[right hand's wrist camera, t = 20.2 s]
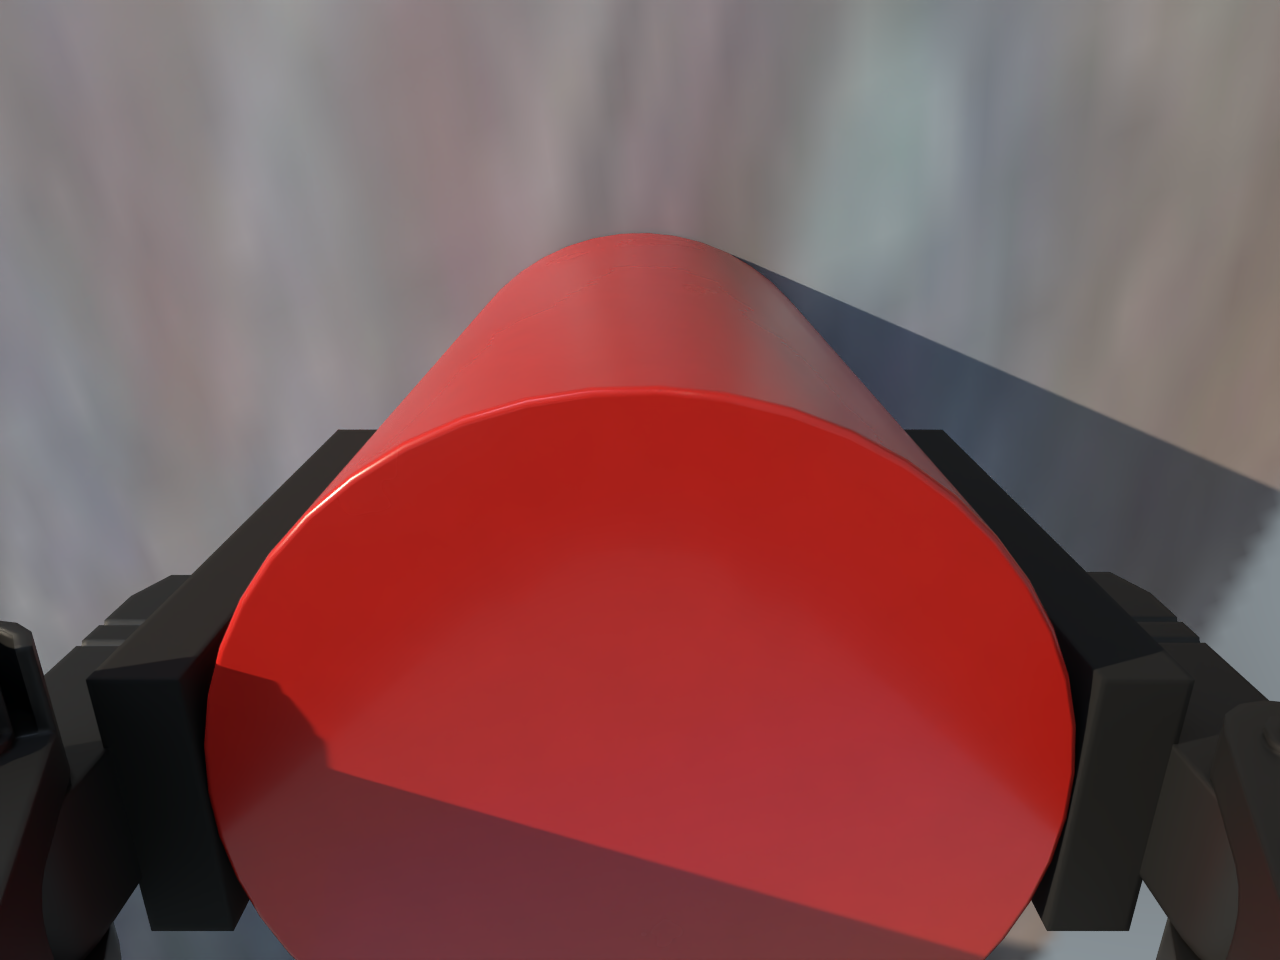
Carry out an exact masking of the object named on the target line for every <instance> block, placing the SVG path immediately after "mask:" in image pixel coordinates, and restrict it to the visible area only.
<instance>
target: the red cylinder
mask: <svg viewBox="0 0 1280 960" xmlns="http://www.w3.org/2000/svg"><path fill="white" fill-rule="evenodd" d="M1075 736H1076V722H1075V715H1074V708H1073V701H1072V694H1071V687H1070V680H1069V674H1068V671H1067V667H1066V664H1065V661H1064V658H1063V655H1062V652H1061V649H1060V646H1059V643H1058V639H1057V636H1056V633H1055V630H1054V627H1053V625H1052V623H1051V621H1050V619H1049V617H1048V615H1047V613H1046V611H1045V609H1044V607H1043V605H1042V603H1041V601H1040V599H1039V597H1038V596H1037V594H1036V592H1035V590H1034V588H1033V586H1032V584H1031V582H1030V580H1029V579H1028V577H1027V576H1026V574H1025V573H1024V572H1023V570H1022V569H1021V568H1020V566H1019V565H1018V564H1017V562H1016V561H1015V560H1014V558H1013V557H1012V555H1011V554H1010V553H1009V551H1008V550H1007V549H1006V547H1005V546H1004V545H1003V543H1002V542H1001V540H1000V539H999V538H998V536H997V535H996V534H995V533H994V532H993V531H992V529H991V528H990V527H989V526H988V525H987V524H986V523H985V522H984V520H983V519H982V518H981V517H980V516H979V515H978V514H977V512H976V511H975V510H974V509H973V508H972V507H971V506H970V504H969V503H968V502H967V501H966V500H965V499H964V498H963V497H962V495H961V494H960V493H959V492H958V491H957V490H956V489H955V487H954V486H953V485H952V484H951V483H950V482H949V481H948V479H947V478H946V477H945V476H944V475H943V474H942V473H941V472H940V470H939V469H938V468H937V467H936V466H935V465H934V464H933V462H932V461H931V460H930V459H929V458H928V457H927V456H926V454H925V453H924V452H923V451H922V450H921V449H920V448H919V447H918V445H917V444H916V443H915V442H914V441H913V440H912V439H911V437H910V436H909V435H908V434H907V433H906V432H905V431H904V429H903V428H902V427H901V426H900V425H899V424H898V423H897V422H896V420H895V419H894V418H893V417H892V416H891V415H890V414H889V412H888V411H887V410H886V409H885V408H884V407H883V406H882V404H881V403H880V402H879V401H878V400H877V399H876V398H875V397H874V395H873V394H872V393H871V392H870V391H869V390H868V389H867V387H866V386H865V385H864V384H863V383H862V382H861V381H860V379H859V378H858V377H857V376H856V375H855V374H854V373H853V372H852V370H851V369H850V368H849V367H848V366H847V365H846V364H845V362H844V361H843V360H842V359H841V358H840V357H839V356H838V354H837V353H836V352H835V351H834V350H833V349H832V348H831V347H830V345H829V344H828V343H827V342H826V341H825V340H824V339H823V337H822V336H821V335H820V334H819V333H818V332H817V331H816V329H815V328H814V327H813V326H812V325H811V324H810V323H809V321H808V320H807V319H806V318H805V317H804V316H803V315H802V314H801V312H800V311H799V310H798V309H797V308H796V307H795V306H794V304H793V303H792V302H791V301H790V300H789V299H788V298H787V297H786V296H785V295H784V294H783V293H782V292H781V291H780V290H779V289H778V288H777V287H776V286H775V285H774V284H773V283H772V282H771V281H770V280H768V279H767V278H766V277H764V276H763V275H762V274H761V273H759V272H758V271H757V270H755V269H754V268H753V267H751V266H750V265H748V264H746V263H745V262H743V261H741V260H739V259H737V258H736V257H734V256H732V255H730V254H729V253H727V252H724V251H722V250H719V249H717V248H714V247H712V246H709V245H707V244H704V243H701V242H697V241H693V240H689V239H685V238H681V237H677V236H669V235H660V234H651V233H638V234H618V235H612V236H606V237H599V238H594V239H590V240H587V241H584V242H581V243H577V244H574V245H571V246H568V247H565V248H563V249H561V250H559V251H557V252H555V253H553V254H550V255H548V256H546V257H544V258H542V259H541V260H539V261H537V262H536V263H534V264H533V265H531V266H530V267H528V268H527V269H525V270H523V271H522V272H520V273H519V274H518V275H517V276H516V277H515V278H513V279H512V280H511V281H510V282H509V283H508V284H506V285H505V286H504V287H503V288H502V289H501V290H500V291H499V292H498V293H497V294H496V295H495V296H494V298H493V299H492V300H491V301H490V302H489V303H488V304H487V306H486V307H485V308H484V309H483V310H482V311H481V312H480V313H479V315H478V316H477V317H476V318H475V319H474V320H473V321H472V323H471V324H470V325H469V326H468V327H467V328H466V329H465V331H464V332H463V333H462V334H461V335H460V336H459V337H458V339H457V340H456V341H455V342H454V343H453V344H452V345H451V347H450V348H449V349H448V350H447V351H446V352H445V353H444V355H443V356H442V357H441V358H440V359H439V360H438V361H437V363H436V364H435V365H434V366H433V367H432V368H431V369H430V371H429V372H428V373H427V374H426V375H425V376H424V377H423V379H422V380H421V381H420V382H419V383H418V384H417V385H416V386H415V388H414V389H413V390H412V391H411V392H410V393H409V394H408V396H407V397H406V398H405V399H404V400H403V401H402V402H401V404H400V405H399V406H398V407H397V408H396V409H395V410H394V412H393V413H392V414H391V415H390V416H389V417H388V418H387V420H386V421H385V422H384V423H383V424H382V425H381V426H380V428H379V429H378V430H377V431H376V432H375V433H374V434H373V436H372V437H371V438H370V439H369V440H368V441H367V442H366V444H365V445H364V446H363V447H362V448H361V449H360V450H359V452H358V453H357V454H356V455H355V456H354V457H353V458H352V459H351V461H350V462H349V463H348V464H347V465H346V466H345V467H344V469H343V470H342V471H341V472H340V473H339V474H338V475H337V477H336V478H335V479H334V480H333V481H332V482H331V483H330V485H329V486H328V487H327V488H326V489H325V490H324V491H323V493H322V494H321V495H320V496H319V497H318V498H317V499H316V501H315V502H314V503H313V504H312V505H311V506H310V507H309V509H308V510H307V511H306V512H305V513H304V514H303V515H302V517H301V518H300V519H299V520H298V521H297V522H296V523H295V524H294V526H293V527H292V528H291V529H290V530H289V531H288V532H287V534H286V535H285V536H284V537H283V538H282V539H281V540H280V542H279V543H278V544H277V545H276V546H275V547H274V548H273V550H272V551H271V552H270V553H269V554H268V556H267V557H266V559H265V560H264V562H263V564H262V565H261V567H260V568H259V570H258V571H257V573H256V575H255V576H254V578H253V579H252V581H251V582H250V584H249V586H248V587H247V589H246V590H245V592H244V593H243V595H242V597H241V598H240V600H239V602H238V605H237V607H236V609H235V612H234V614H233V616H232V619H231V621H230V623H229V626H228V628H227V630H226V633H225V635H224V637H223V640H222V642H221V644H220V647H219V651H218V655H217V659H216V663H215V667H214V671H213V675H212V679H211V683H210V688H209V692H208V699H207V713H206V726H205V739H204V749H205V761H206V772H207V783H208V793H209V797H210V801H211V805H212V809H213V813H214V817H215V821H216V825H217V828H218V832H219V836H220V839H221V841H222V844H223V846H224V848H225V851H226V853H227V855H228V858H229V860H230V863H231V865H232V867H233V870H234V872H235V875H236V877H237V879H238V881H239V882H240V884H241V886H242V887H243V889H244V891H245V892H246V894H247V896H248V897H249V899H250V901H251V902H252V904H253V906H254V907H255V909H256V911H257V912H258V914H259V916H260V917H261V919H262V920H263V921H264V922H265V924H266V925H267V926H268V927H269V929H270V930H271V931H272V932H273V934H274V935H275V936H276V938H277V939H278V940H279V941H280V943H281V944H282V945H283V946H284V948H285V949H286V950H287V951H288V953H289V954H290V955H291V956H292V957H293V958H294V959H295V960H985V959H986V958H987V956H988V955H989V954H990V953H991V952H992V951H993V950H994V949H995V948H996V947H997V946H998V945H999V943H1000V942H1001V941H1002V940H1003V939H1004V938H1005V936H1006V935H1007V934H1008V932H1009V931H1010V929H1011V928H1012V927H1013V925H1014V924H1015V922H1016V921H1017V920H1018V918H1019V917H1020V915H1021V914H1022V913H1023V911H1024V910H1025V908H1026V907H1027V906H1028V904H1029V903H1030V901H1031V899H1032V897H1033V895H1034V894H1035V892H1036V890H1037V888H1038V886H1039V884H1040V882H1041V880H1042V878H1043V876H1044V874H1045V872H1046V871H1047V869H1048V867H1049V865H1050V863H1051V861H1052V858H1053V855H1054V852H1055V849H1056V847H1057V844H1058V841H1059V838H1060V835H1061V832H1062V829H1063V826H1064V824H1065V821H1066V818H1067V812H1068V807H1069V801H1070V796H1071V790H1072V785H1073V779H1074V774H1075Z"/></svg>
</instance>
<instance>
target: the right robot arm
mask: <svg viewBox="0 0 1280 960" xmlns="http://www.w3.org/2000/svg"><path fill="white" fill-rule="evenodd" d="M376 431H377V430H337V431H336V432H335V433H334V434H333V435H332V436H331V437H330V438H329V439H328V440H327V441H326V442H325V443H324V444H323V445H322V446H321V447H320V448H319V449H318V450H317V451H316V452H315V453H314V454H313V455H312V456H311V457H310V458H309V459H308V460H307V461H306V462H305V463H304V464H303V465H302V466H301V467H300V468H299V469H298V470H297V471H296V472H295V473H294V474H293V475H292V476H291V477H290V478H289V479H288V480H287V481H286V482H285V483H284V484H283V485H282V486H281V487H280V488H279V489H278V490H277V491H276V492H275V493H274V494H273V495H272V496H271V497H270V498H269V499H268V500H267V501H266V502H265V503H264V504H263V505H262V506H261V507H260V508H259V509H258V510H257V511H256V512H255V513H254V514H253V515H252V516H251V517H250V518H249V519H247V520H246V521H245V522H244V523H243V524H242V525H241V526H240V527H239V528H238V529H237V530H236V531H235V532H234V533H233V534H232V535H231V536H230V537H229V538H228V539H227V540H226V541H225V542H224V543H223V544H222V545H221V546H220V547H219V548H218V549H217V550H216V551H215V552H214V553H213V554H212V555H211V556H210V557H209V558H208V559H207V560H206V561H205V562H204V563H203V564H202V565H201V566H200V567H199V568H198V569H197V570H196V571H195V572H194V573H193V574H192V575H171V576H169V577H167V578H165V579H163V580H161V581H159V582H157V583H155V584H153V585H151V586H150V587H148V588H146V589H144V590H142V591H140V592H138V593H136V594H134V595H132V596H131V597H130V598H129V599H127V600H126V601H125V602H124V603H123V604H122V605H121V606H120V607H119V608H118V609H116V610H115V611H114V612H113V613H112V614H111V615H110V616H109V617H108V618H107V619H106V620H105V624H104V625H99V626H98V627H97V628H96V629H95V630H94V631H92V632H91V633H90V634H89V635H88V636H87V637H86V638H85V639H84V640H83V641H82V646H76V647H75V648H74V649H73V650H72V651H71V652H69V653H68V654H67V655H66V656H65V657H64V658H63V659H62V660H61V661H60V662H58V663H57V664H56V665H55V666H54V667H53V668H52V669H51V670H50V671H49V672H48V673H46V674H45V675H44V674H43V671H42V667H41V664H40V660H39V657H38V653H37V650H36V646H35V643H34V639H33V636H32V632H31V631H29V630H28V629H26V628H24V627H23V626H21V625H20V624H18V623H14V622H5V621H0V960H122V959H121V952H120V945H119V940H118V936H117V933H116V929H115V926H114V922H113V921H114V920H115V918H116V917H117V915H118V914H119V912H120V911H121V909H122V908H123V906H124V905H125V903H126V902H127V900H128V899H129V897H130V896H131V894H132V893H133V891H134V890H135V888H136V887H137V885H138V884H139V885H140V889H141V892H142V896H143V900H144V904H145V908H146V911H147V915H148V919H149V923H150V927H151V930H152V931H234V929H235V927H236V925H237V923H238V921H239V919H240V917H241V915H242V913H243V911H244V909H245V907H246V905H247V903H248V901H249V897H248V896H247V894H246V892H245V891H244V889H243V887H242V886H241V884H240V882H239V881H238V879H237V877H236V875H235V872H234V870H233V867H232V865H231V863H230V860H229V858H228V855H227V853H226V851H225V848H224V846H223V844H222V841H221V839H220V836H219V832H218V828H217V825H216V821H215V817H214V813H213V809H212V805H211V801H210V797H209V793H208V783H207V772H206V761H205V749H204V739H205V726H206V713H207V699H208V692H209V688H210V683H211V679H212V675H213V671H214V667H215V663H216V659H217V655H218V651H219V647H220V644H221V642H222V640H223V637H224V635H225V633H226V630H227V628H228V626H229V623H230V621H231V619H232V616H233V614H234V612H235V609H236V607H237V605H238V602H239V600H240V598H241V597H242V595H243V593H244V592H245V590H246V589H247V587H248V586H249V584H250V582H251V581H252V579H253V578H254V576H255V575H256V573H257V571H258V570H259V568H260V567H261V565H262V564H263V562H264V560H265V559H266V557H267V556H268V554H269V553H270V552H271V551H272V550H273V548H274V547H275V546H276V545H277V544H278V543H279V542H280V540H281V539H282V538H283V537H284V536H285V535H286V534H287V532H288V531H289V530H290V529H291V528H292V527H293V526H294V524H295V523H296V522H297V521H298V520H299V519H300V518H301V517H302V515H303V514H304V513H305V512H306V511H307V510H308V509H309V507H310V506H311V505H312V504H313V503H314V502H315V501H316V499H317V498H318V497H319V496H320V495H321V494H322V493H323V491H324V490H325V489H326V488H327V487H328V486H329V485H330V483H331V482H332V481H333V480H334V479H335V478H336V477H337V475H338V474H339V473H340V472H341V471H342V470H343V469H344V467H345V466H346V465H347V464H348V463H349V462H350V461H351V459H352V458H353V457H354V456H355V455H356V454H357V453H358V452H359V450H360V449H361V448H362V447H363V446H364V445H365V444H366V442H367V441H368V440H369V439H370V438H371V437H372V436H373V434H374V433H375V432H376ZM904 431H905V432H906V433H907V434H908V435H909V436H910V437H911V439H912V440H913V441H914V442H915V443H916V444H917V445H918V447H919V448H920V449H921V450H922V451H923V452H924V453H925V454H926V456H927V457H928V458H929V459H930V460H931V461H932V462H933V464H934V465H935V466H936V467H937V468H938V469H939V470H940V472H941V473H942V474H943V475H944V476H945V477H946V478H947V479H948V481H949V482H950V483H951V484H952V485H953V486H954V487H955V489H956V490H957V491H958V492H959V493H960V494H961V495H962V497H963V498H964V499H965V500H966V501H967V502H968V503H969V504H970V506H971V507H972V508H973V509H974V510H975V511H976V512H977V514H978V515H979V516H980V517H981V518H982V519H983V520H984V522H985V523H986V524H987V525H988V526H989V527H990V528H991V529H992V531H993V532H994V533H995V534H996V535H997V536H998V538H999V539H1000V540H1001V542H1002V543H1003V545H1004V546H1005V547H1006V549H1007V550H1008V551H1009V553H1010V554H1011V555H1012V557H1013V558H1014V560H1015V561H1016V562H1017V564H1018V565H1019V566H1020V568H1021V569H1022V570H1023V572H1024V573H1025V574H1026V576H1027V577H1028V579H1029V580H1030V582H1031V584H1032V586H1033V588H1034V590H1035V592H1036V594H1037V596H1038V597H1039V599H1040V601H1041V603H1042V605H1043V607H1044V609H1045V611H1046V613H1047V615H1048V617H1049V619H1050V621H1051V623H1052V625H1053V627H1054V630H1055V633H1056V636H1057V639H1058V643H1059V646H1060V649H1061V652H1062V655H1063V658H1064V661H1065V664H1066V667H1067V671H1068V674H1069V680H1070V687H1071V694H1072V701H1073V708H1074V715H1075V722H1076V736H1075V774H1074V779H1073V785H1072V790H1071V796H1070V801H1069V807H1068V812H1067V818H1066V821H1065V824H1064V826H1063V829H1062V832H1061V835H1060V838H1059V841H1058V844H1057V847H1056V849H1055V852H1054V855H1053V858H1052V861H1051V863H1050V865H1049V867H1048V869H1047V871H1046V872H1045V874H1044V876H1043V878H1042V880H1041V882H1040V884H1039V886H1038V888H1037V890H1036V892H1035V894H1034V895H1033V897H1032V899H1031V900H1032V902H1033V904H1034V906H1035V908H1036V910H1037V912H1038V914H1039V916H1040V918H1041V920H1042V922H1043V924H1044V926H1045V928H1046V930H1047V931H1129V929H1130V925H1131V921H1132V917H1133V914H1134V910H1135V906H1136V902H1137V899H1138V894H1139V891H1140V887H1141V883H1142V880H1143V881H1144V882H1145V884H1146V885H1147V887H1148V888H1149V890H1150V891H1151V893H1152V894H1153V896H1154V897H1155V899H1156V900H1157V902H1158V903H1159V905H1160V906H1161V908H1162V909H1163V911H1164V912H1165V914H1166V915H1167V917H1168V919H1167V922H1166V926H1165V929H1164V933H1163V937H1162V940H1161V944H1160V947H1159V951H1158V954H1157V958H1156V960H1280V702H1276V701H1269V700H1268V699H1267V698H1266V697H1265V696H1263V695H1262V694H1261V693H1260V692H1259V691H1258V690H1257V689H1256V688H1255V687H1253V686H1252V685H1251V684H1250V683H1249V682H1248V681H1247V680H1246V679H1245V678H1244V677H1242V676H1241V675H1240V674H1239V673H1238V672H1237V671H1236V670H1235V669H1234V668H1233V667H1231V666H1230V665H1229V664H1228V663H1227V662H1226V661H1225V660H1224V659H1223V658H1221V657H1220V656H1219V655H1218V654H1217V653H1216V652H1215V651H1214V650H1213V649H1212V648H1210V647H1209V646H1208V645H1207V644H1206V643H1200V641H1199V637H1198V636H1197V635H1196V634H1195V633H1194V632H1193V631H1192V630H1191V629H1189V628H1188V627H1187V626H1186V625H1185V624H1184V623H1183V622H1177V617H1176V616H1175V615H1174V614H1173V613H1172V612H1171V611H1170V610H1168V609H1167V608H1166V607H1165V606H1164V605H1163V604H1162V603H1161V602H1160V601H1159V600H1157V599H1156V598H1155V597H1154V596H1153V595H1152V594H1151V593H1149V592H1147V591H1146V590H1144V589H1142V588H1140V587H1138V586H1136V585H1134V584H1132V583H1130V582H1128V581H1126V580H1124V579H1122V578H1120V577H1118V576H1116V575H1115V574H1113V573H1111V572H1086V571H1085V570H1084V569H1083V568H1082V567H1081V566H1080V565H1079V564H1078V563H1077V562H1076V561H1075V560H1074V559H1073V558H1071V557H1070V556H1069V555H1068V554H1067V553H1066V552H1065V551H1064V550H1063V549H1062V548H1061V547H1060V546H1059V545H1058V544H1057V543H1056V542H1055V541H1054V540H1053V539H1052V538H1051V537H1050V536H1049V535H1048V534H1047V533H1046V532H1045V531H1044V530H1043V529H1042V528H1041V527H1040V526H1039V525H1038V524H1037V523H1036V522H1035V521H1034V520H1033V519H1032V518H1031V517H1030V516H1029V515H1028V514H1027V513H1026V512H1025V511H1024V510H1023V509H1022V508H1021V507H1020V506H1019V505H1018V504H1017V503H1016V502H1015V501H1014V500H1013V499H1012V498H1011V497H1010V496H1009V495H1008V494H1007V493H1006V492H1005V491H1004V490H1003V489H1002V488H1001V487H1000V486H999V485H998V484H997V483H996V482H995V481H994V480H993V479H992V478H991V477H990V476H989V475H988V474H987V473H986V472H985V471H984V470H982V469H981V468H980V467H979V466H978V465H977V464H976V463H975V462H974V461H973V460H972V459H971V458H970V457H969V456H968V455H967V454H966V453H965V452H964V451H963V450H962V449H961V448H960V447H959V446H958V445H957V444H956V443H955V442H954V441H953V440H952V439H951V438H950V437H949V436H948V435H947V434H946V433H945V432H944V431H943V430H904Z"/></svg>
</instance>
